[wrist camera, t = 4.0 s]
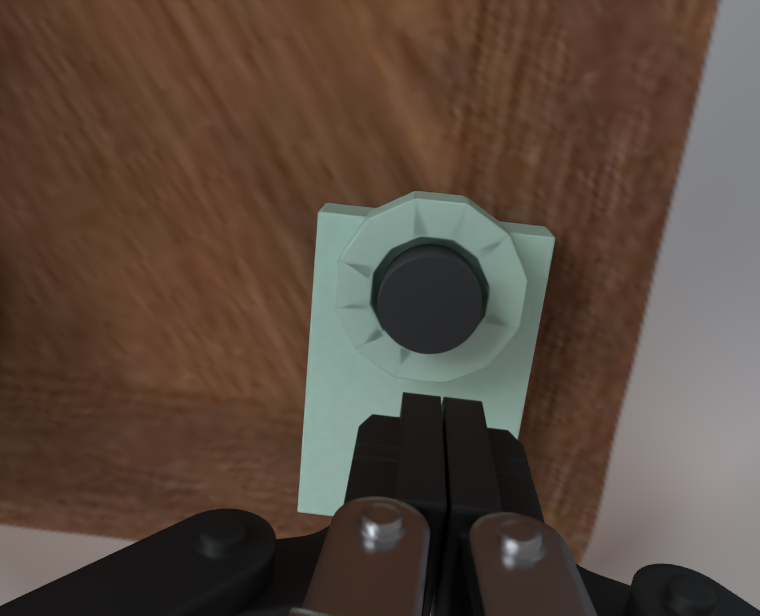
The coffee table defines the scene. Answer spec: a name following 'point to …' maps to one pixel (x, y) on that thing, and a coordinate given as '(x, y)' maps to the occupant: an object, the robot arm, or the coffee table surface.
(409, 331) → the button
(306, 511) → the scale
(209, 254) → the coffee table surface
